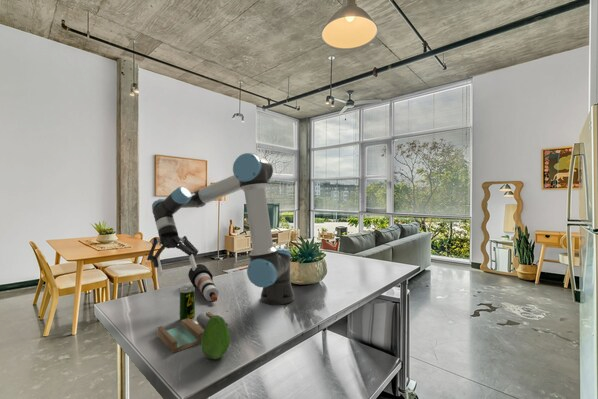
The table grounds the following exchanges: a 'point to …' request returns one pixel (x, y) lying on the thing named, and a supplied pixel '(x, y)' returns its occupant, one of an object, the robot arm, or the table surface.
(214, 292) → the cable
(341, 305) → the table surface
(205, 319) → the smooth gray cylinder
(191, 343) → the caddy
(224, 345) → the avocado
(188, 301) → the beer can
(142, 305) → the table surface
